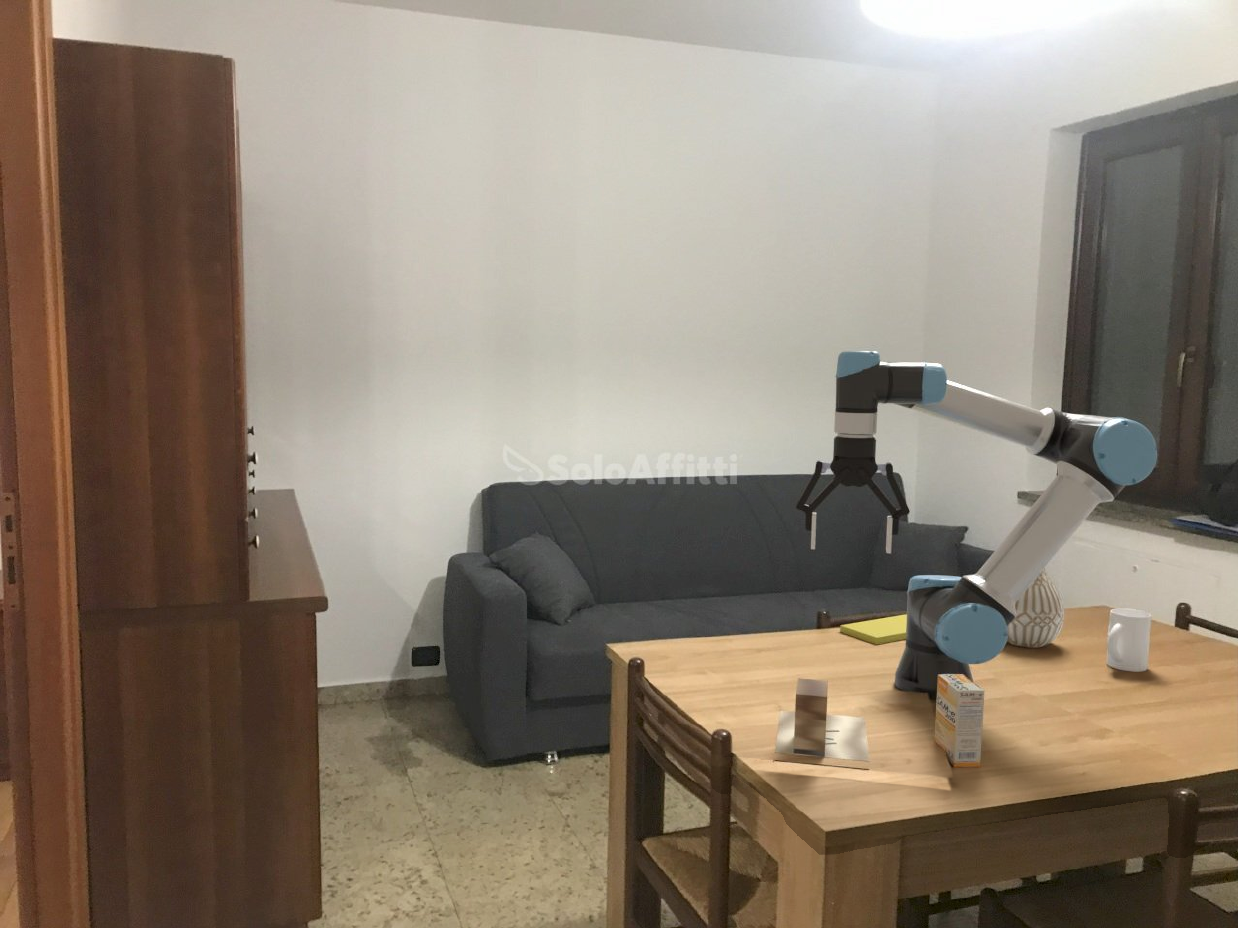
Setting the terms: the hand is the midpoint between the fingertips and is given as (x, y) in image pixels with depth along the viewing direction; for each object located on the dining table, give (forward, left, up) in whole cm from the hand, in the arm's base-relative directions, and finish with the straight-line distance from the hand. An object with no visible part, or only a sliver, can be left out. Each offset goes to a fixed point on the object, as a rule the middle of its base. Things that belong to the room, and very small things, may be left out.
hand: (850, 550), depth 181 cm
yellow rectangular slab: (-13, -60, -31) cm, 69 cm away
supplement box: (-18, +18, -31) cm, 40 cm away
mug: (-60, -43, -31) cm, 80 cm away
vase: (-43, -58, -31) cm, 79 cm away
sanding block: (+6, +23, -29) cm, 37 cm away
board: (+4, +17, -31) cm, 35 cm away
